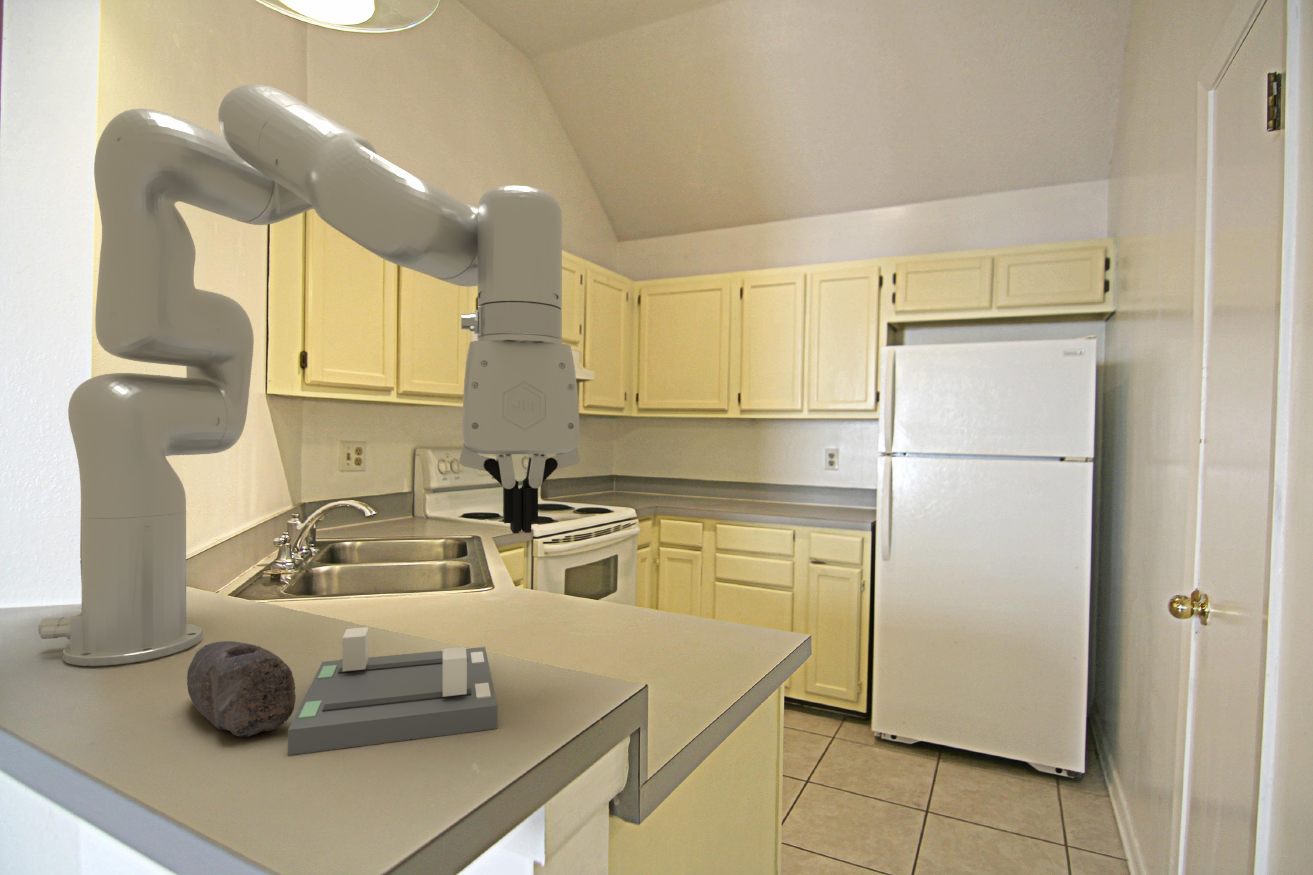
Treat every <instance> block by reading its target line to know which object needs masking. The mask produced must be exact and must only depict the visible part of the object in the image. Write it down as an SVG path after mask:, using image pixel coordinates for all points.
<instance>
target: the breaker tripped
mask: <svg viewBox="0 0 1313 875" xmlns="http://www.w3.org/2000/svg"><path fill="white" fill-rule="evenodd" d="M466 647H467V646H462V647H461V646H460V647H459V646H458V647H452V648H451V647H450V648H442V651H443V697H445V696H454V695H463V694H467V655H466V649H467V648H466Z"/></svg>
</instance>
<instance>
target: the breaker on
mask: <svg viewBox="0 0 1313 875" xmlns="http://www.w3.org/2000/svg"><path fill="white" fill-rule="evenodd" d="M369 632H370V630H369V626H365V627H353V628H346V630H345V632H344V634H343V636H342V660H343V671H352V670H363V669H366V665H367V662H368V657H369V652H370V651H369V649H370V648H369V644H370V643H369V638H370V637H369V634H370V633H369Z"/></svg>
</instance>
